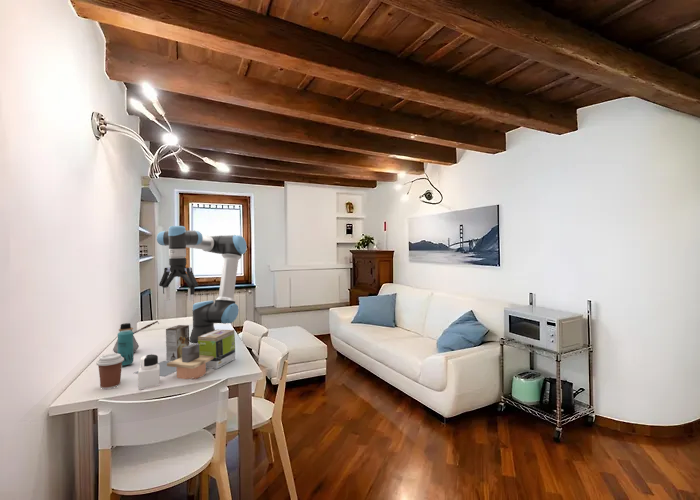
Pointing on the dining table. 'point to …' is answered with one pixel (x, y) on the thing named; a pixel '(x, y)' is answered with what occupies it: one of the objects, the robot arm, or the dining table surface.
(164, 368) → the mat
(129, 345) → the beverage bottle
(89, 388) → the dining table surface
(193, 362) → the lid
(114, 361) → the coffee cup
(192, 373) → the bowl
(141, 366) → the medicine bottle
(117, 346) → the coffee pot
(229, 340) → the tea box
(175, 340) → the coffee box
